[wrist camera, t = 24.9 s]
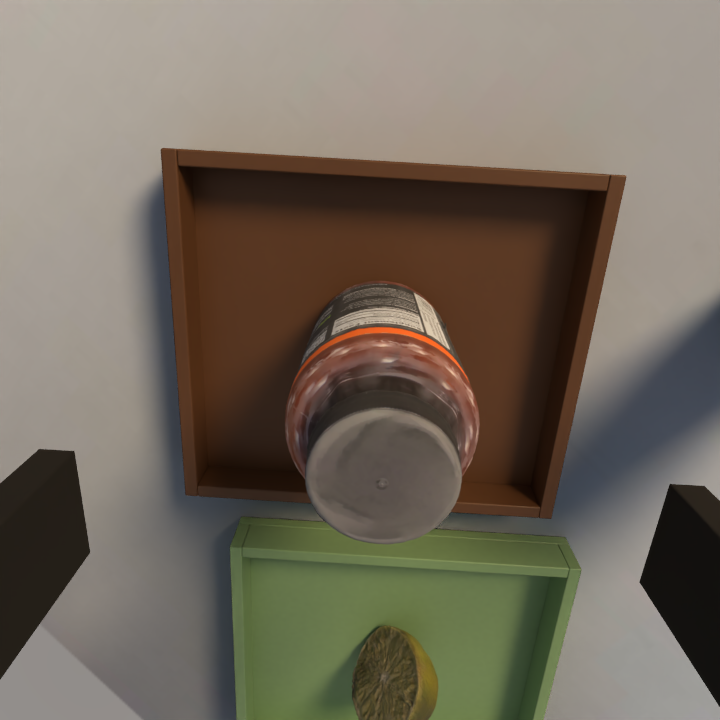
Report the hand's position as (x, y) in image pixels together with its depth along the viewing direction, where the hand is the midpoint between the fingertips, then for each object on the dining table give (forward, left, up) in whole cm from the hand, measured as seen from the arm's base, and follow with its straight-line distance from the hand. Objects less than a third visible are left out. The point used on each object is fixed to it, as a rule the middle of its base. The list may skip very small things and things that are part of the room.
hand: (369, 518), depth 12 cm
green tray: (+2, -18, -13) cm, 23 cm away
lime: (+2, -18, -13) cm, 22 cm away
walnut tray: (0, 0, -13) cm, 13 cm away
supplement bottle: (0, 0, -13) cm, 13 cm away
